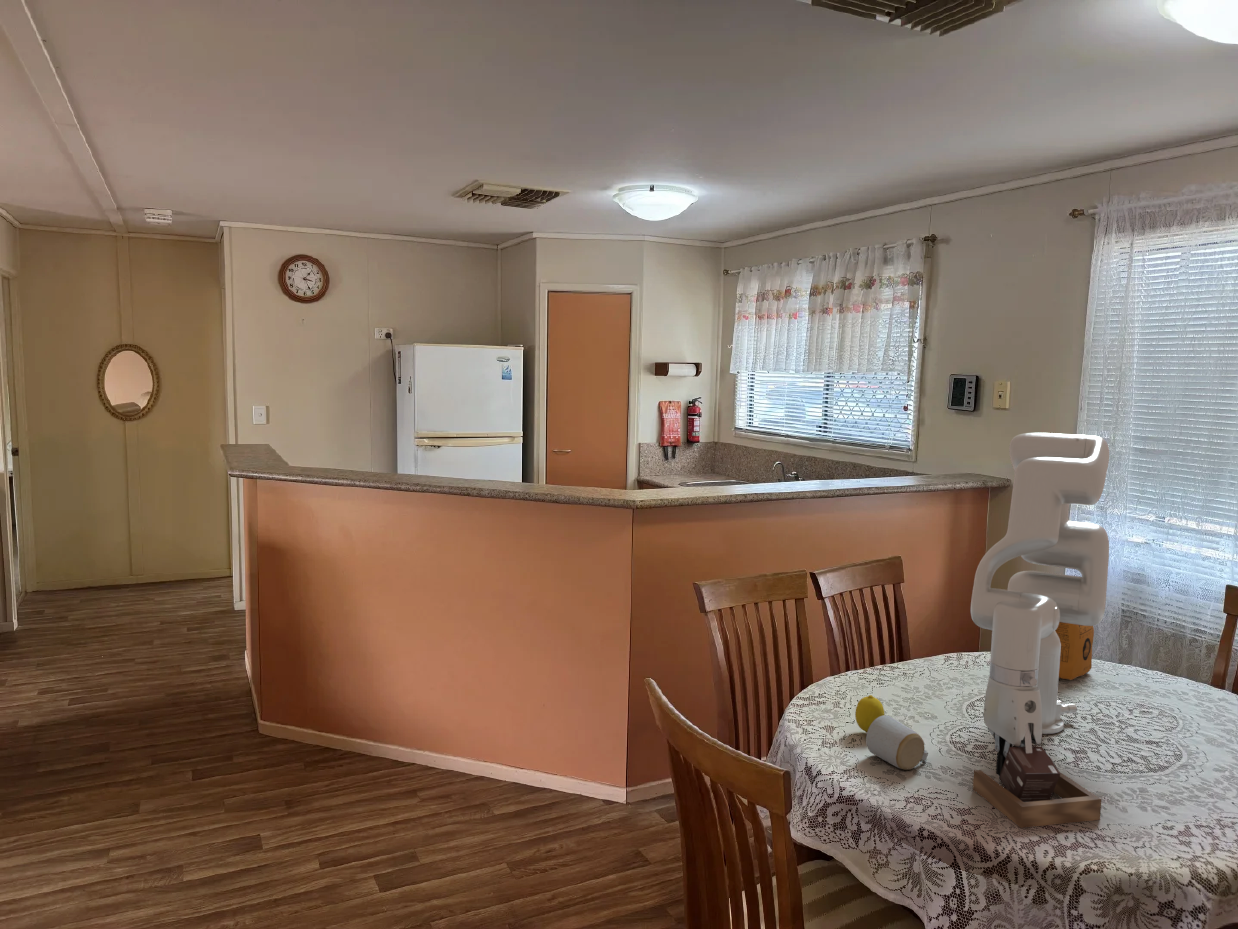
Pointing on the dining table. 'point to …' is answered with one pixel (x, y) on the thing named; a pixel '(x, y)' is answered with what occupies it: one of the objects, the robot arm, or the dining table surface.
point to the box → (1029, 774)
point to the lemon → (868, 711)
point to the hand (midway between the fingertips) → (1006, 775)
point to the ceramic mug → (895, 743)
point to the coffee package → (1075, 649)
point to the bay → (1041, 803)
